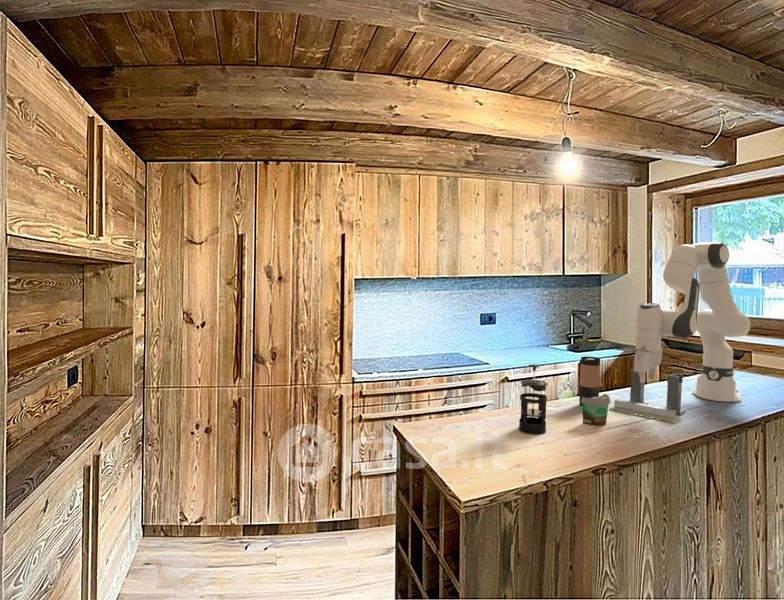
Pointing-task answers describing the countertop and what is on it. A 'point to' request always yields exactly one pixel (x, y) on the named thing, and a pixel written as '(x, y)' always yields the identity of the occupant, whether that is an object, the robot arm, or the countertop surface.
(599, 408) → the food container
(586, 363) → the travel mug
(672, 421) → the mat
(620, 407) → the rail
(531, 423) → the french press
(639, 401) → the posts
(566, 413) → the countertop surface
